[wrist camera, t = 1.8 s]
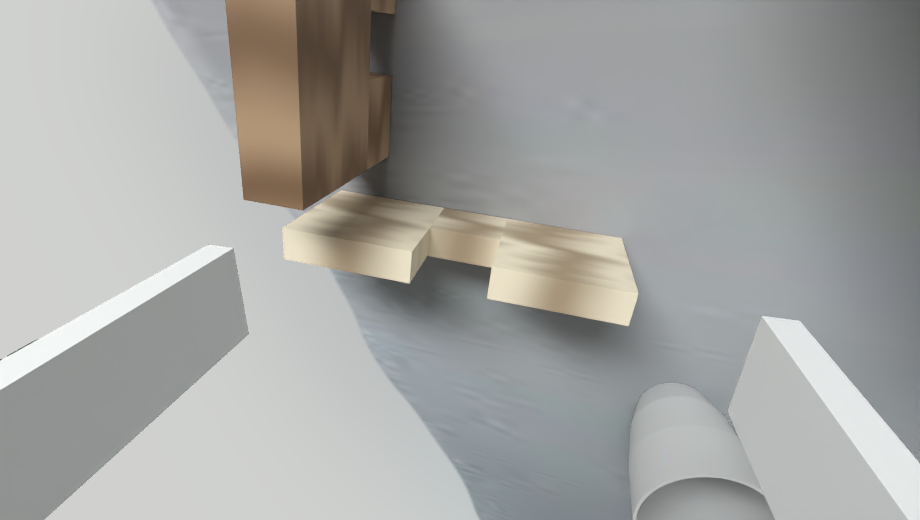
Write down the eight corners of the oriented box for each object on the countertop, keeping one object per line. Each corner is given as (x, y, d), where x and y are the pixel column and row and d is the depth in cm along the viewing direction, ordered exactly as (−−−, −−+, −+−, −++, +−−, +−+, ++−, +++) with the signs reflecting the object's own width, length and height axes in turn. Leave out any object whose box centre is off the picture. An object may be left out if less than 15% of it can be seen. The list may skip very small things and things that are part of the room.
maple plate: (340, 215, 35) (284, 259, 28) (340, 190, 34) (282, 227, 27) (614, 264, 33) (628, 326, 25) (621, 238, 32) (638, 294, 25)
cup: (606, 437, 39) (619, 554, 30) (628, 356, 35) (651, 461, 26) (711, 458, 37) (757, 586, 29) (744, 376, 34) (809, 493, 25)
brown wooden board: (349, -95, 27) (207, -188, 16) (399, -90, 27) (288, -183, 16) (347, 149, 33) (243, 199, 22) (388, 156, 33) (303, 210, 22)
